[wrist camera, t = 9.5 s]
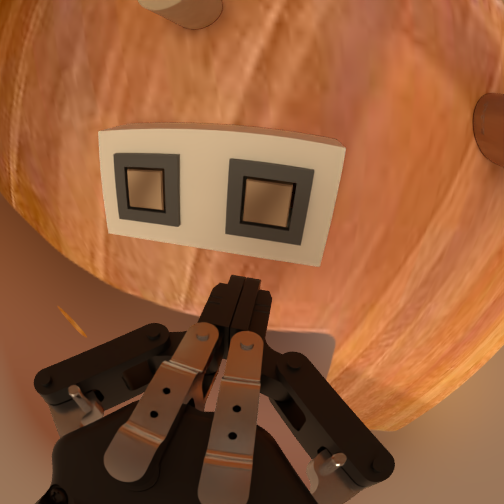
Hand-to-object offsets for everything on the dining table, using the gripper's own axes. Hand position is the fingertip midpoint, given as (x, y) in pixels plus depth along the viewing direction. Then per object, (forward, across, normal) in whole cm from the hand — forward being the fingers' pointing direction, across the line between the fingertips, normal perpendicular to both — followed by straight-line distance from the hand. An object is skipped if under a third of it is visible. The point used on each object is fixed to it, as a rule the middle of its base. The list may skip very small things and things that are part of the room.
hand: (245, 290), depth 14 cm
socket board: (+18, +6, 0) cm, 19 cm away
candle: (+18, +10, -20) cm, 29 cm away
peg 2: (+18, 0, 0) cm, 18 cm away
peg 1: (+18, +12, 0) cm, 22 cm away
